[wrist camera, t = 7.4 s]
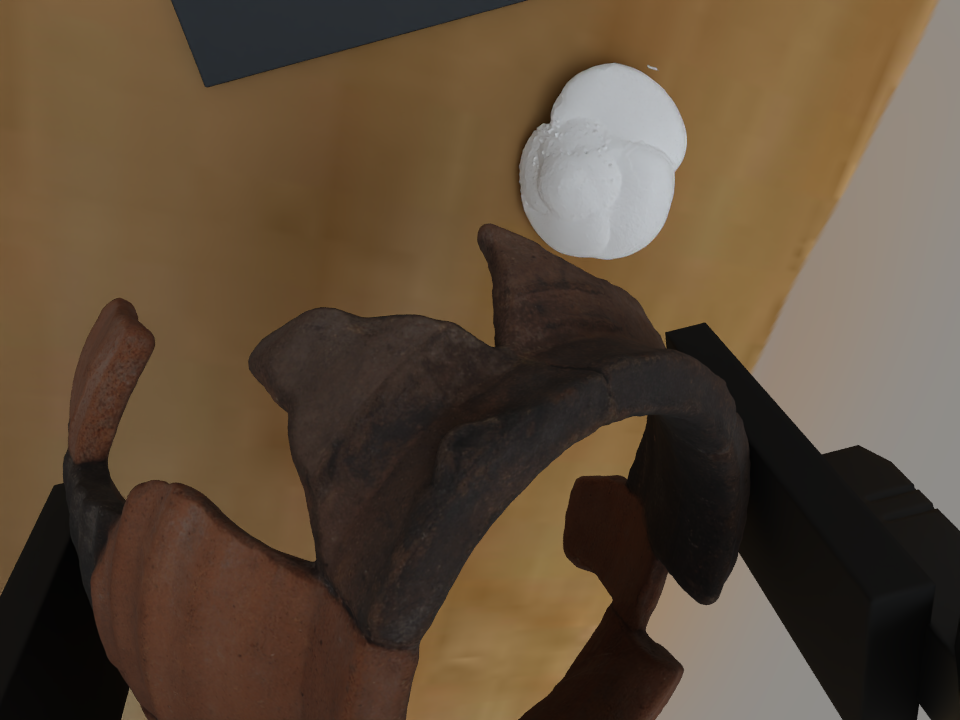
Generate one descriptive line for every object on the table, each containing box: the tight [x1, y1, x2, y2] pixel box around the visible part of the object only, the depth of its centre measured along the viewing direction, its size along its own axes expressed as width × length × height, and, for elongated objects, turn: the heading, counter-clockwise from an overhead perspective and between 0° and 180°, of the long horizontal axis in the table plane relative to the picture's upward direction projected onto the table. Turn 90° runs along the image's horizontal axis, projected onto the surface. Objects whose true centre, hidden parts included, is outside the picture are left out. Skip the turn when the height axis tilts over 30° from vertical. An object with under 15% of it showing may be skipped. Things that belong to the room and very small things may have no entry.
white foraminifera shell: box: [519, 63, 687, 260], centre depth 28 cm, size 7×5×4 cm
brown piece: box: [63, 224, 751, 720], centre depth 13 cm, size 12×10×8 cm
